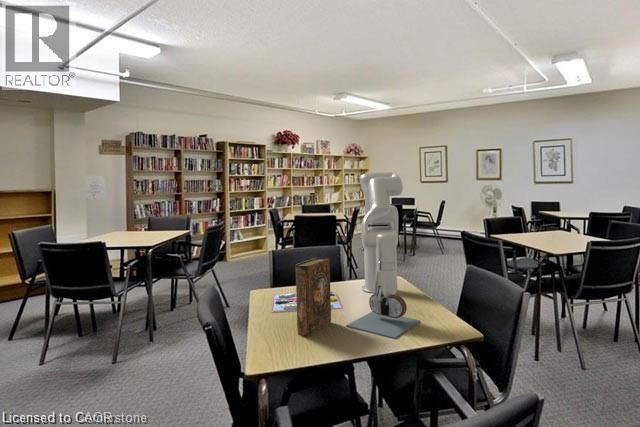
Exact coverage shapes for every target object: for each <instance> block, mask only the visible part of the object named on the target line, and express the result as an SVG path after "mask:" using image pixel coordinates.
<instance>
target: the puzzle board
mask: <svg viewBox="0 0 640 427" xmlns="http://www.w3.org/2000/svg"><path fill="white" fill-rule="evenodd" d="M330 295H331V310H342V309H343V306H342V303H341V300H340V299H339V297H338V294H337V292H333V291H330ZM271 301H272V302H271V313H272V314H274V313H287V312H293V313H294V312H297V298H296V292H289V293H284V294H283V293H282V294H273V295H272V300H271Z"/></svg>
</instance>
